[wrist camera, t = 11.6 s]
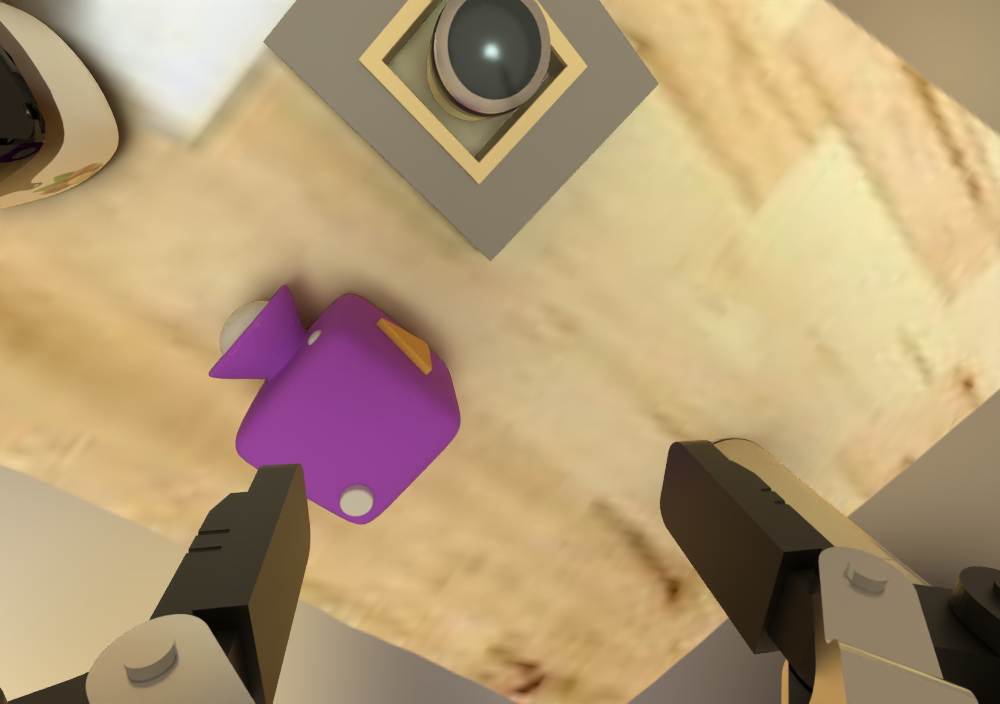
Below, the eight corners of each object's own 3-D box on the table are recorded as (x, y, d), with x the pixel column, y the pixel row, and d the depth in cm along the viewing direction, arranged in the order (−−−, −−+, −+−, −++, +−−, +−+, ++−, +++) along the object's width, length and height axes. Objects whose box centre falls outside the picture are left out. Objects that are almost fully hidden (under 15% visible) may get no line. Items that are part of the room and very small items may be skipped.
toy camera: (278, 240, 32) (232, 276, 22) (466, 341, 36) (490, 406, 27) (205, 381, 34) (136, 466, 25) (391, 459, 39) (390, 555, 30)
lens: (534, 74, 31) (578, 50, 23) (471, 142, 32) (495, 140, 24) (470, -5, 29) (495, -59, 21) (405, 70, 30) (408, 43, 22)
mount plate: (636, 89, 32) (662, 82, 29) (482, 252, 34) (492, 262, 31) (450, -163, 26) (458, -207, 23) (276, 52, 28) (260, 39, 25)
